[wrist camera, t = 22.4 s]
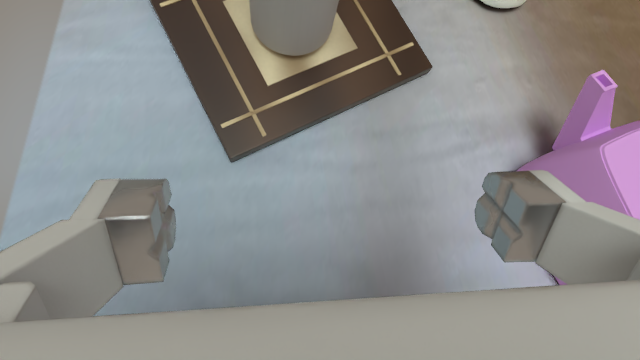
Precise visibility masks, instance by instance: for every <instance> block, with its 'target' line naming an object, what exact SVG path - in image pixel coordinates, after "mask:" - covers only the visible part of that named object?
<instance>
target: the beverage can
mask: <svg viewBox="0 0 640 360" xmlns="http://www.w3.org/2000/svg"><path fill="white" fill-rule="evenodd" d="M338 2H339V0H249V4H250V17H251V24H252V28H253V30H254V32H255V34H256V36H257V37H258V38H259V40H260V41H261V42H262V43H263V44H264V45H266V46H267V47H268V48H270V49H271V50H273V51H275V52H278V53H281V54H285V55H292V56H298V55H304V54H308V53H311V52H313V51H315V50H317V49H318V48H319V47H321V46H322V45H323V44H324V43H325V42H326V40H327V39H328V37H329V35H330V33H331V30H332V26H333V22H334V18H335V14H336V10H337V6H338Z"/></svg>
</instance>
